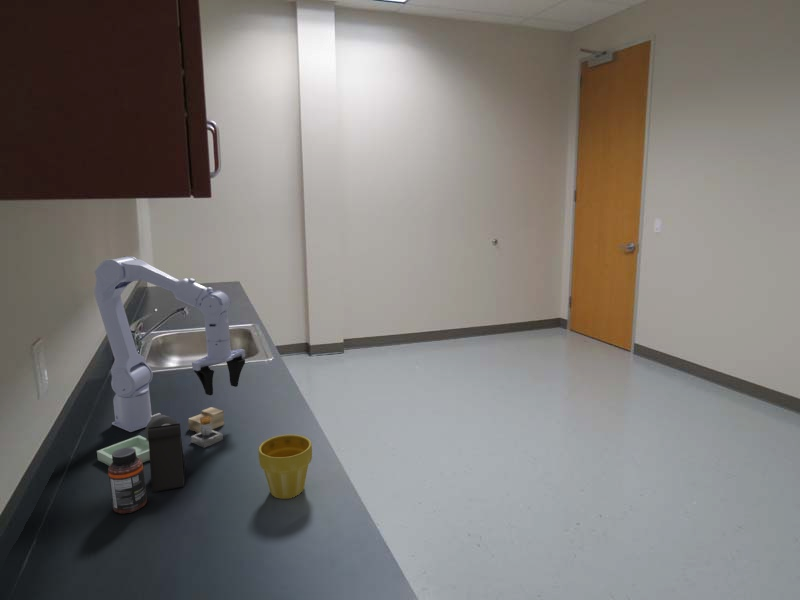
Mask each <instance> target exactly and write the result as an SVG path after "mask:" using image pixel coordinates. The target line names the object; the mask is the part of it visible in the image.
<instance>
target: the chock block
mask: <svg viewBox="0 0 800 600" xmlns="http://www.w3.org/2000/svg"><path fill="white" fill-rule="evenodd" d="M204 416H210V417H211V429H212V430H215V429H217V428H219V427H222V426H224V425H225V418H224V417H225V416H224V410H221V409H218V408H217V407H212V406H210V407H208V408H205V409H202V410H201V413H200V414H197V415H195V416H192V417H191V416H190V417H189V418H188V429H190V431H193V432H194V431H195V432H194V433H196V434H198V433H200V432H201V424H200V418H201V417H204Z"/></svg>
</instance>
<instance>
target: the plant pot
mask: <svg viewBox="0 0 800 600" xmlns="http://www.w3.org/2000/svg"><path fill="white" fill-rule="evenodd" d="M312 444H313V443H312V441H311V440H310V439H309V438H308V437H306V436H303V435H299V434H282V435H280V434H279V435H276V436H273V437H270V438H268V439H266V440H264V441H263V442H262V443H261V444H260V445H259V447H258V462H259V466H260V468H261V469H262V470H263V472H264V474H265V475H264V476H265V478H266V481H267V484H268V488H269V492H270V494H271V495H272V497H274V498H277V499H281V500H282V499H283V500H286V499H292V497H293V498H295V496H296V497H297V495H298V496H299V495H301V494H300V493H301V492H302V493H303V491H304V489H305V485H306V479H307V473H308V468H309V465H310V464H311V462H312V458H313V445H312Z"/></svg>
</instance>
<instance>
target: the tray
mask: <svg viewBox="0 0 800 600" xmlns="http://www.w3.org/2000/svg"><path fill="white" fill-rule="evenodd" d="M121 448H134V449H135V450H136V457H138V458H140V459H141V460H142V462H143V463H146V462H150V452H149V440H147V439H146V437H144V436H142V435H139V434H138V435H136V436H133V437H130V438H128V439H125V440H122V441H119V442H117V443H114V444H112V445H109V446H106V447H104V448H101V449H99V450H96V454H97V461H99V462H101V463H103V464H105V465H107V466H108V467H109V466H110V464H111V463H112V462H113V460H112V454H113V452H115V451H116V450H118V449H121Z"/></svg>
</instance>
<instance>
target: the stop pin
mask: <svg viewBox="0 0 800 600" xmlns="http://www.w3.org/2000/svg"><path fill="white" fill-rule="evenodd" d="M200 424H201V435H202V439H204V440H205V439H208V438H210V437H212V430H213V429H211V417H210V416H204V417H201V418H200Z"/></svg>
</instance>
